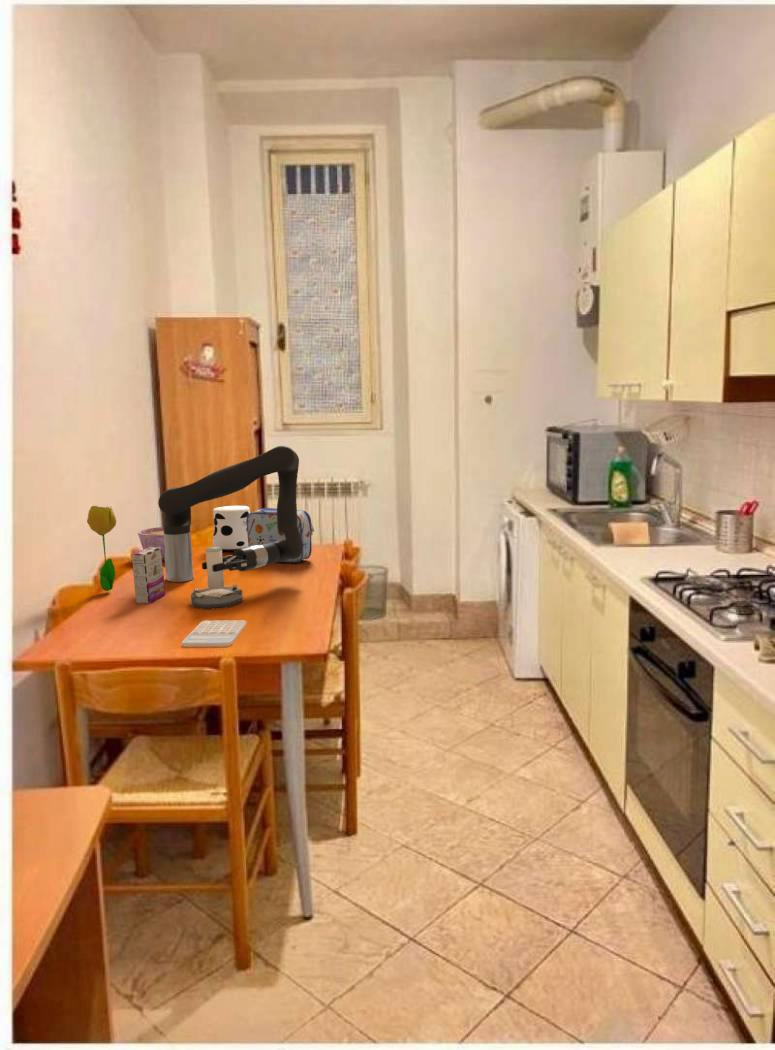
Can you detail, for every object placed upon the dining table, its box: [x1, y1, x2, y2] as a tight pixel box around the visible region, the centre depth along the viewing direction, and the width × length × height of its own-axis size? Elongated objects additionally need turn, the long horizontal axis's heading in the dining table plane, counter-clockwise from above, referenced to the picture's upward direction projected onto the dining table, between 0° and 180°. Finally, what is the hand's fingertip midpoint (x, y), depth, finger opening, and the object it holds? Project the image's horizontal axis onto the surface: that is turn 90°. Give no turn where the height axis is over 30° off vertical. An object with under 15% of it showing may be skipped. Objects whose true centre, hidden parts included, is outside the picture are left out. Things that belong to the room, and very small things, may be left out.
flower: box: [86, 505, 117, 592], centre depth 257 cm, size 9×8×30 cm
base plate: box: [190, 584, 243, 610], centre depth 243 cm, size 16×16×4 cm
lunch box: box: [246, 507, 315, 564], centre depth 302 cm, size 28×10×22 cm, turn 67°
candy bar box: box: [130, 547, 166, 605], centre depth 248 cm, size 11×5×16 cm, turn 168°
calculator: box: [181, 619, 248, 648], centre depth 210 cm, size 13×20×2 cm, turn 177°
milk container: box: [212, 505, 251, 552], centre depth 328 cm, size 17×17×18 cm
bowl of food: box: [137, 526, 165, 559], centre depth 313 cm, size 20×20×12 cm
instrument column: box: [205, 545, 225, 589], centre depth 242 cm, size 5×5×13 cm
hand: (208, 567), depth 240 cm, fingers closed on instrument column, 5 cm apart
